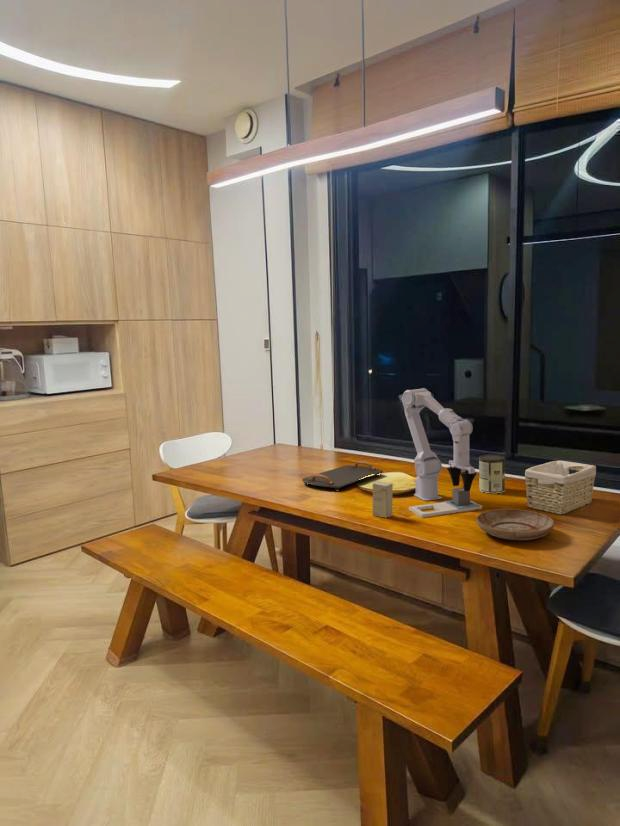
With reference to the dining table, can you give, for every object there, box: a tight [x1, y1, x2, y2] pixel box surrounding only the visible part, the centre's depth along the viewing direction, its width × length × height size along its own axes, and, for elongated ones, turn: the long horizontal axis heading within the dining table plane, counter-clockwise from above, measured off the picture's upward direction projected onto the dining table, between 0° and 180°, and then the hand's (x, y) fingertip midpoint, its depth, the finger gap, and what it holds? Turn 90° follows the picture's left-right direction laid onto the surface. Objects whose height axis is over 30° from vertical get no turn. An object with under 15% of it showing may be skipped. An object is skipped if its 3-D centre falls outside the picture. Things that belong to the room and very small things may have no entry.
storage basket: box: [524, 460, 597, 515], centre depth 208 cm, size 24×16×15 cm
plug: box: [451, 486, 471, 506], centre depth 211 cm, size 4×5×7 cm
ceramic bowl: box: [475, 508, 555, 541], centre depth 182 cm, size 23×24×5 cm
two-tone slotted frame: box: [408, 499, 483, 519], centre depth 209 cm, size 10×25×2 cm, turn 107°
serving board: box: [301, 460, 384, 491], centre depth 258 cm, size 39×23×6 cm, turn 138°
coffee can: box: [478, 454, 506, 495], centre depth 230 cm, size 10×10×14 cm
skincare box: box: [372, 480, 394, 519], centre depth 205 cm, size 6×4×12 cm
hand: (461, 488), depth 210 cm, fingers open, 7 cm apart
